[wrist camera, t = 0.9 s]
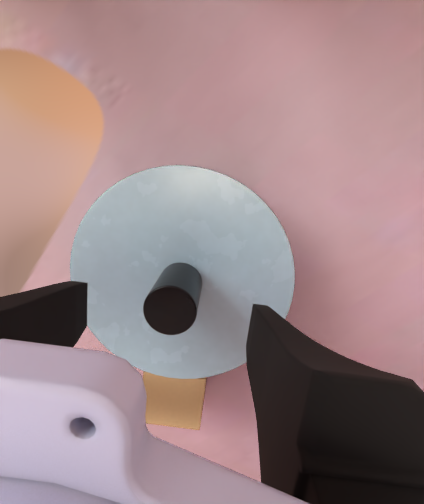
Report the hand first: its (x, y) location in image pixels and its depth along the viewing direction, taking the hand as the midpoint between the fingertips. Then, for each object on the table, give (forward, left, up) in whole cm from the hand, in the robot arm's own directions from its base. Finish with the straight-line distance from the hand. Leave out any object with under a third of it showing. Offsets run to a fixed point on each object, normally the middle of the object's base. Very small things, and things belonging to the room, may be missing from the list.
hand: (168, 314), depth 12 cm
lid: (0, 0, -4) cm, 4 cm away
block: (-9, -4, -10) cm, 14 cm away
